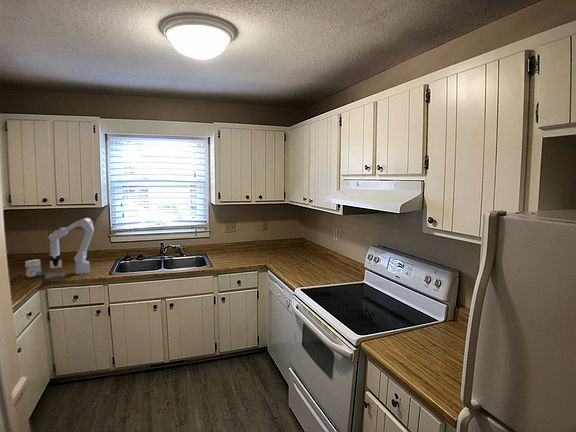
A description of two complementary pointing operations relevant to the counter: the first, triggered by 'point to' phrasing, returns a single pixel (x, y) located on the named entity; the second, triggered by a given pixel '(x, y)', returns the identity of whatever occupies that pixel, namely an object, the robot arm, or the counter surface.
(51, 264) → the block
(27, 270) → the ink box
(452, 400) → the counter surface
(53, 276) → the stand
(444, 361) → the counter surface
